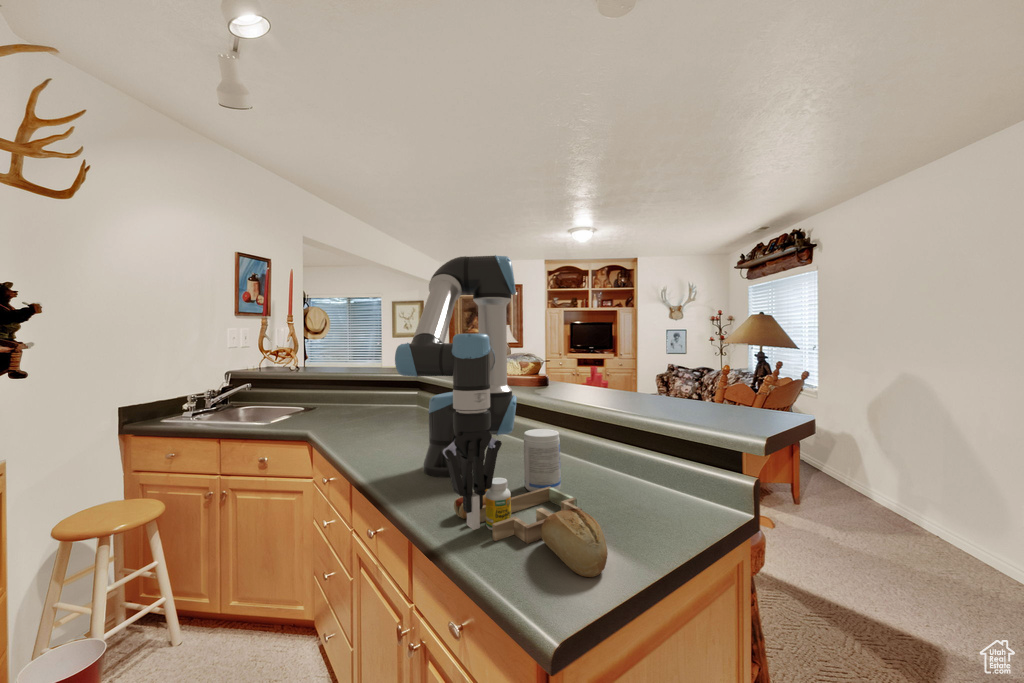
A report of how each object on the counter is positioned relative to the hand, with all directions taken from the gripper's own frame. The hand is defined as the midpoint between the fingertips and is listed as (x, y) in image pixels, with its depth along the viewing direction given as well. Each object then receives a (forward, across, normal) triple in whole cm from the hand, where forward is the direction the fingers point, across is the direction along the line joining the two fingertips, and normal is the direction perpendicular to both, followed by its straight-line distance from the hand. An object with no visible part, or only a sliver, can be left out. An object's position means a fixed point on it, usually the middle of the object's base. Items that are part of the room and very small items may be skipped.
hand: (473, 526), depth 80 cm
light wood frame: (+2, +13, -2) cm, 13 cm away
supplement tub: (+2, +27, +11) cm, 29 cm away
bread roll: (+2, +10, -18) cm, 21 cm away
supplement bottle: (+2, +6, 0) cm, 6 cm away
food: (+2, +7, +9) cm, 11 cm away
